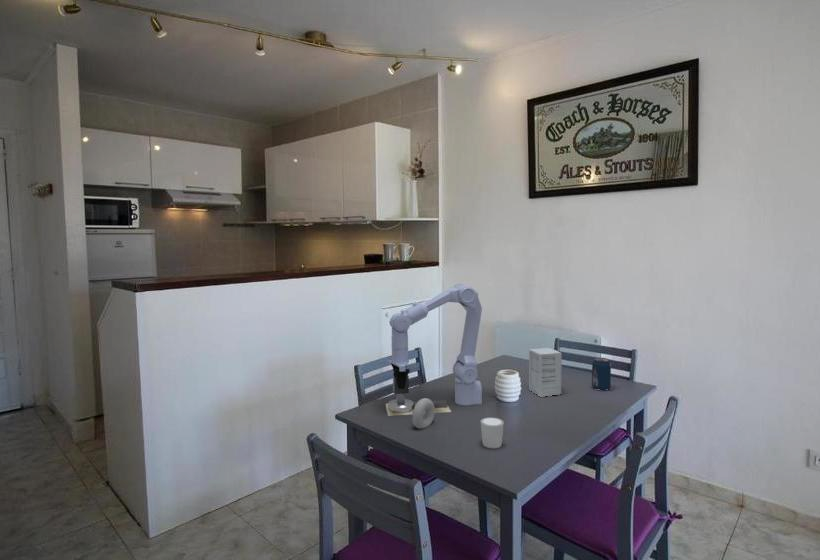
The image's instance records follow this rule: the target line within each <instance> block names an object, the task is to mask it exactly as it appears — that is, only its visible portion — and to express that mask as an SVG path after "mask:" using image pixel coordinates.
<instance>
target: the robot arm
mask: <svg viewBox="0 0 820 560" xmlns="http://www.w3.org/2000/svg"><path fill="white" fill-rule="evenodd" d="M447 303H455V304H456V303H459V304H460V306H462V308H463V309H464V310H465V311H466V313H465V320H464V327H463V332H462V338H461V346H460V350H459V354H458V355H457V356H456V360H455V362H454V364H453V366H452V371H453V374H454V375H455V379H454V402H455V404H456V405H460V406H472V405H473V406H474V405H483V404H482V403H483V400H482V399H483V397H482V395H483V393H482V392H483V390H482V389H483V387H482V383H481V381H480V380H479V379H478V380H477V378H478V369H477V361H476V360H477V359H476V357H475V354H476V349H477V343H478V337H479V331H480V323H481V317H482V312H483V307H482V305H481V302H480V298H479V292H477V290H475V289H474V288H473V287H472V286H468V285H464V284H462V283H458V284H454V285H453V286H450V287H448V288H447V289H446V290H444V291H442V292H440V293H439V294H436V296H434V297H432V298H431V299H429V300H428V301H426V302H424V303H422V302H413V303H412V305H411V306H410V307H408V308H406V309H401V310H400V313H399V312H398V313H397V312H396V313H394V314H393V315H391V317H390V319H389V326H390V327H391V359H389V360H388V363H389V364H390V366H391V367H392V371H393V373H395V375H396V379H397V385H398V389H404V388H405V384H406V378H407V375H408V376H409V373H410V372H411V371H410V370H411V369H410V368H407V366H408V364H409V363H410V359H409V335H408V334H409V333H408V330H409V328H410V326H413V325H415V324H416V323H418V322H420V321H421V320H423V319H425V318H427V316H428V313H429V312H431V311H432V310H435V309H437V308H439V307H441V306H442V305H445V304H447Z"/></svg>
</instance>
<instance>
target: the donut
mask: <svg viewBox="0 0 820 560" xmlns="http://www.w3.org/2000/svg"><path fill="white" fill-rule="evenodd" d="M432 401H433V400H431V399H430V398H427V397H424V398H421V399H418V401H416V402H417V404H416V405H415V407H414V410H413V414H411V417H412V418H411V419H412V423H413V425H414V427H415V428H416V429H419V430H422V429H426V428H428V427H429V426H430V425H431V424H432V423H433V420H434V417H435V414H436V413H435V407H434V404H433V402H432ZM424 411H425V412H424ZM423 413H424V414H423Z"/></svg>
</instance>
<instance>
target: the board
mask: <svg viewBox="0 0 820 560" xmlns="http://www.w3.org/2000/svg"><path fill="white" fill-rule="evenodd" d="M384 404H385V409H386V412H387V416H388V417H390V416H392V417H393V416H408V415H411V416H412V415H413V410H414V408H413V410H412V411H410V412H407V413H393V412H390V411H389V410H388V402H386V403H384ZM447 406H448V407H447V408H435V414H440V413H452V410H451V409H450V406H449V405H448V404H447ZM424 412H425V411H424ZM423 415H424V413H423Z"/></svg>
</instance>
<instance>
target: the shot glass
mask: <svg viewBox="0 0 820 560" xmlns="http://www.w3.org/2000/svg"><path fill="white" fill-rule="evenodd" d="M504 424H505V423H504V420H503V419H501V418H497V417H491V416H490V417H484V418H482V419H480V428H481V429H480V430H481V439H482V440H481V441H482V445H483V446H484V447H485V448H488V449H498V448H500V447H502V444H503V434H504Z"/></svg>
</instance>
